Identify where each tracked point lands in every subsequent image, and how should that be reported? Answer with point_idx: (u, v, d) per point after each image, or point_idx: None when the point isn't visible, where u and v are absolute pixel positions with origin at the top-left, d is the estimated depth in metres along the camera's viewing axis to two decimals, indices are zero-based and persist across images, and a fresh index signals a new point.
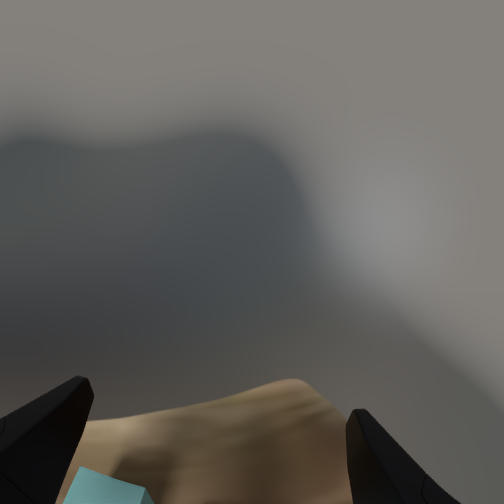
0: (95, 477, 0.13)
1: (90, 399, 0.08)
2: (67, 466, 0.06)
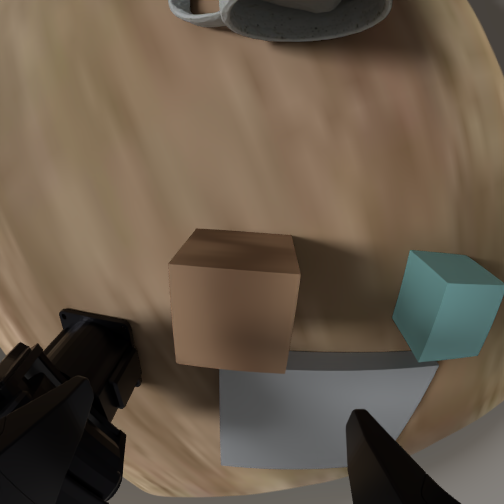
0: (494, 307, 0.13)
1: (90, 399, 0.08)
2: (67, 466, 0.06)
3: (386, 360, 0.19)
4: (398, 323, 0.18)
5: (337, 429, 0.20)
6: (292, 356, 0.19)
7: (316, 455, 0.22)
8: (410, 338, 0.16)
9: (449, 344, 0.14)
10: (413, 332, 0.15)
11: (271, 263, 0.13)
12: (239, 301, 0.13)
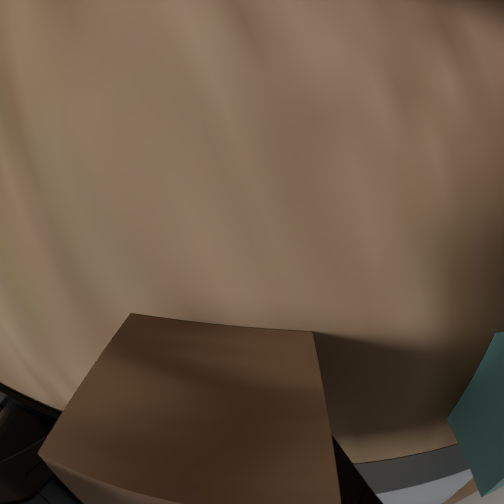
0: None
1: None
2: None
3: (428, 466, 0.10)
4: (457, 432, 0.09)
5: None
6: None
7: None
8: (475, 461, 0.07)
9: None
10: (482, 456, 0.07)
11: (269, 469, 0.04)
12: None
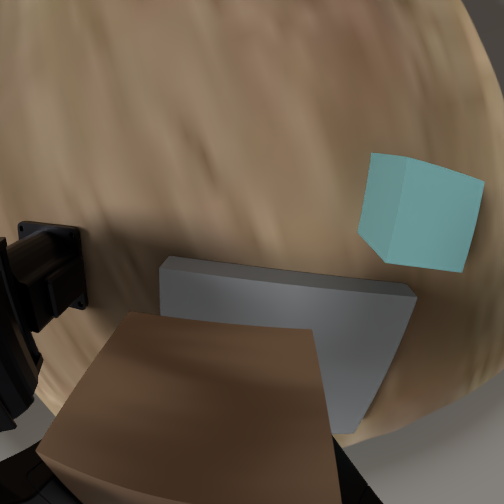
0: (473, 206, 0.12)
1: None
2: None
3: (353, 284, 0.18)
4: (363, 234, 0.17)
5: None
6: (242, 269, 0.18)
7: None
8: (375, 241, 0.15)
9: (423, 244, 0.13)
10: (378, 233, 0.14)
11: (269, 467, 0.04)
12: None
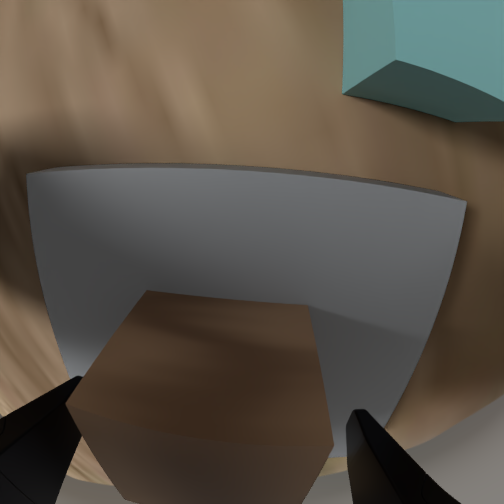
0: None
1: None
2: (67, 466, 0.06)
3: (347, 177, 0.09)
4: (350, 81, 0.08)
5: None
6: (145, 164, 0.10)
7: None
8: (370, 59, 0.06)
9: (461, 41, 0.04)
10: (371, 43, 0.06)
11: (271, 410, 0.06)
12: (207, 472, 0.05)
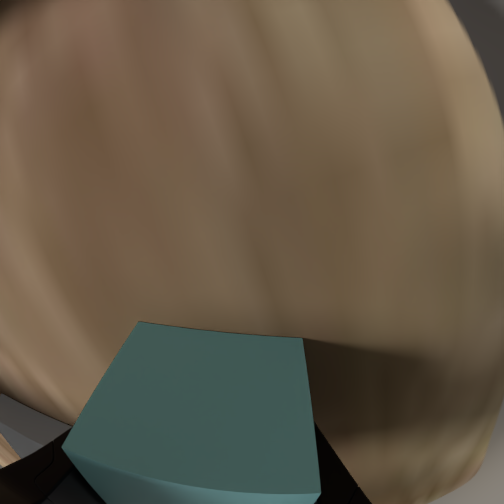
0: None
1: None
2: None
3: None
4: None
5: None
6: (50, 427, 0.11)
7: None
8: None
9: None
10: None
11: None
12: None
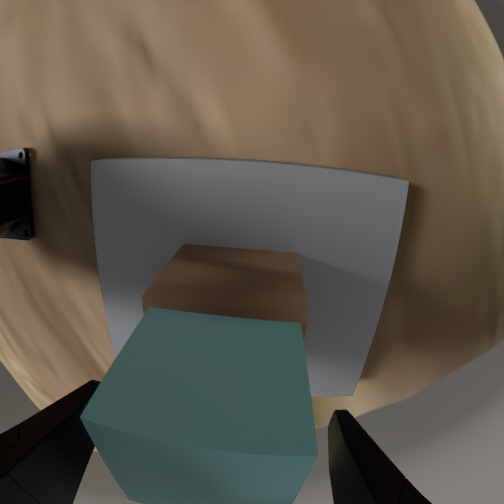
0: (283, 484, 0.05)
1: None
2: (83, 472, 0.06)
3: (321, 166, 0.14)
4: None
5: None
6: (183, 157, 0.14)
7: None
8: None
9: (178, 502, 0.06)
10: None
11: (271, 296, 0.10)
12: None
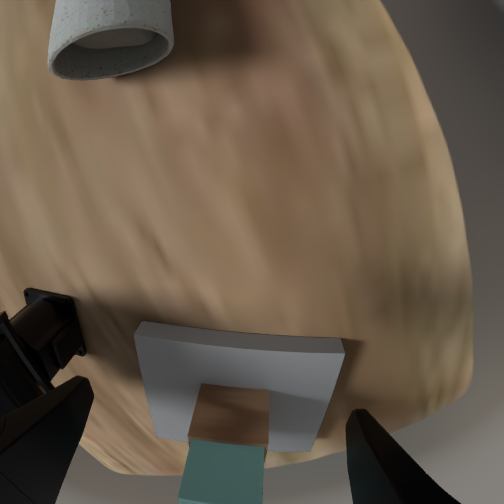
0: None
1: (90, 399, 0.08)
2: (67, 466, 0.06)
3: (287, 343, 0.22)
4: None
5: None
6: (197, 332, 0.22)
7: None
8: None
9: None
10: None
11: (251, 433, 0.18)
12: None
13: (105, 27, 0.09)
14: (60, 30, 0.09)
